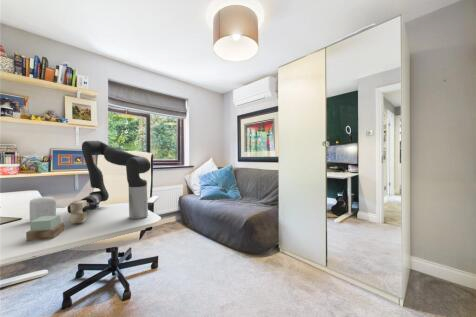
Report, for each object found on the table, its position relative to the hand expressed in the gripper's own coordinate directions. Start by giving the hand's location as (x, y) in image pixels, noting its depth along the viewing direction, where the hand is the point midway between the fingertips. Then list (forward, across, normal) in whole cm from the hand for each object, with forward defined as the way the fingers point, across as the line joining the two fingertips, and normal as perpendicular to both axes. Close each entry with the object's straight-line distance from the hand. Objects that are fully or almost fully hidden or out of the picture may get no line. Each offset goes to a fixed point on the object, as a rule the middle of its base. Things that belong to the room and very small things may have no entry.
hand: (76, 210), depth 100 cm
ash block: (-3, 0, +6) cm, 7 cm away
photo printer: (-15, -20, +7) cm, 26 cm away
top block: (+11, -7, +4) cm, 13 cm away
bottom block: (+10, -7, +8) cm, 15 cm away
